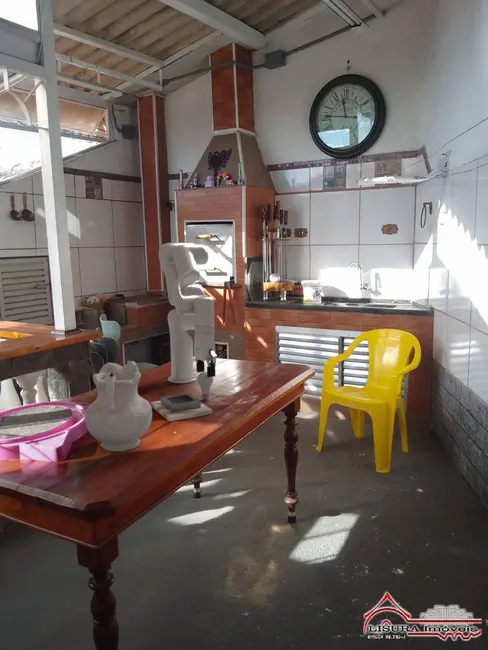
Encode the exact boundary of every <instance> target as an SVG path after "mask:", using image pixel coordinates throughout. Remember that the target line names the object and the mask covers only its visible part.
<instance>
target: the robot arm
mask: <svg viewBox="0 0 488 650" xmlns="http://www.w3.org/2000/svg"><path fill="white" fill-rule="evenodd" d="M158 249H159V250H158V261H159V263H160V266H161V269H162V271H163V273H164V276H165V277H164V278H165V282H166V283H165V284H166V291H167V296H168V297H167V298H168V302H169V304H170V305H171V306H174V309H171V310H170V311H169V312H168V314H167V323H168V329H169V337H170V339H169V340H170V362H171V363H170V364H171V366H170V367H171V368H170V369H171V375H170V376H168V377H167V381H168V382H170V383H174V384H189V383H193V382H196V381H197V377H198V375H195V374H194V358H195V363H196V365H195V366H196V369H195V370H196V371H195V372H196V373H201V372H204V371H205V367H206V372H207V377H213V378H214V377H216V366H217V365H216V364H217V354H216V342H215V334H216V332H215V331H216V330H215V326H216V325H215V301H214V298H213V297H211V296H209V295H206V293H205V289H204V287H203V286H202V285H201V284H199V283H196V282H197V281H198V280H199V278H200V275H201V272H200V270H199V266H198V265H200V266H201V265H206V264H207V263H208V260H209V252H208V249H207V247H206V246H205V244H202V243H197V242H167V243H164V244H161V245H160V247H159V248H158ZM191 330H194V338H192V336H190V334H189V333H188V332H187V331H191ZM193 339H194V340H193ZM193 341H194V342H193ZM205 361H206V362H205ZM205 363H206V364H207V366H205Z"/></svg>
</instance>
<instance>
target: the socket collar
mask: <svg viewBox="0 0 488 650" xmlns="http://www.w3.org/2000/svg"><path fill="white" fill-rule="evenodd" d="M160 401H161V405H163V406H164V407H165V408H166V409H168V410H169V411H170V412H172V413H173V412H179V411H185V410H191V409H196V408H201V403H202V401H201V400H200V399H198V398H197V397H195V396H194V395H192V394H191V393H188V392H186V393H183V394H182V393H181V394H175V395H168V396H161V397H160ZM185 401H187V402H185ZM179 402H183V403H179ZM174 403H177V404H174Z"/></svg>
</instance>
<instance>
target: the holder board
mask: <svg viewBox="0 0 488 650" xmlns="http://www.w3.org/2000/svg"><path fill="white" fill-rule="evenodd" d="M185 402H187V401H185ZM179 403H183V402H179ZM174 404H177V403H174ZM150 405H151V407H152V409H153V410H155V411H156V412H158V413H159V414H160V415H161V416H162V417H163V418H164V419H166V420H167V421H168V422H173V421H174V422H175V421H180V420H185V419H191V418H196V417H203V416H206V415H207V416H208V415H209V416H210V415H212V414H213V409H212V408H211V407H209V406H207V405H206V404H204V403H202V402H201V408H196V409H191V410H185V411H179V412H173V413H172V412H170V411H169V410H168V409H166V408H165V407H164V406H163V405H161V400H158V401H157V400H156V401H151V402H150Z"/></svg>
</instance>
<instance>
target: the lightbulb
mask: <svg viewBox="0 0 488 650" xmlns="http://www.w3.org/2000/svg"><path fill="white" fill-rule="evenodd" d="M196 381H197V383H198V386H199V387H200V390H201V391H200V392H201V396H202V399H203V400H207V399H209V397H210V392H211V391H210V390H211V386H213V385H212V384H213V382H214V377H207V370H206V371H204V372H199V374H198V375H197V380H196Z"/></svg>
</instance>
